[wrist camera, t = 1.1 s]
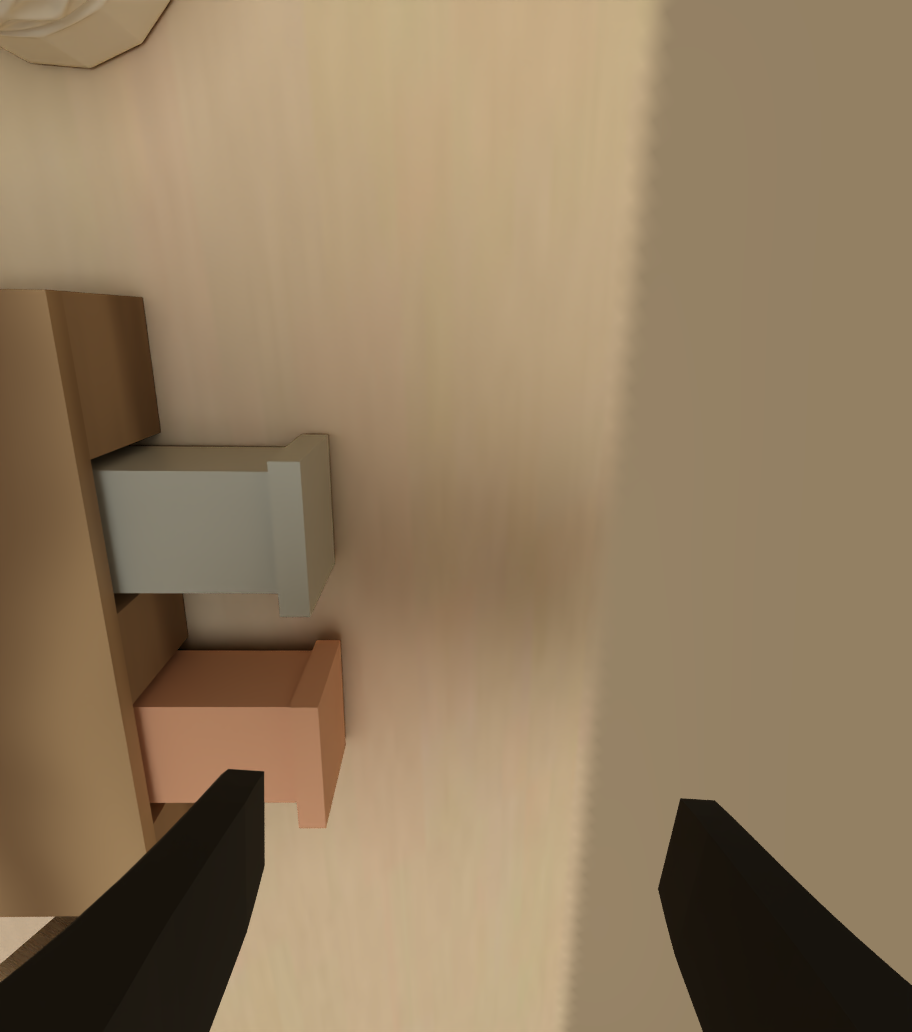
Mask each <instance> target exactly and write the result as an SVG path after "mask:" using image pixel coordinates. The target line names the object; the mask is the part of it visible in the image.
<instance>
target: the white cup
mask: <svg viewBox="0 0 912 1032" xmlns="http://www.w3.org/2000/svg"><path fill="white" fill-rule="evenodd" d="M169 2H170V0H0V47H2V48H3V49H5V50H7V51H9V52H11V53H12V54H14V55H16V56H18V57H20V58H21V59H23V60H25V61H27V62H30V63H37V64H49V65H60V66H71V67H82V68H92V67H94V66H97V65H99V64H101V63H103V62H105V61H107V60H109V59H111V58H113V57H115V56H117V55H119V54H121V53H123V52H125V51H127V50H129V49H131V48H133V47H135V46H137V45H139V44H141V43H142V42H143V41H144V40H145V38H146V37H147V35H148V34H149V32H150V30H151V29H152V27H153V26H154V24H155V23H156V21H157V20H158V18H159V17H160V15H161V14H162V12H163V11H164V9H165V8H166V6H167V5H168V3H169Z"/></svg>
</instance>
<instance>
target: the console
mask: <svg viewBox="0 0 912 1032" xmlns="http://www.w3.org/2000/svg"><path fill="white" fill-rule="evenodd" d="M158 433H160V424H159V417H158V410H157V402H156V395H155V387H154V380H153V373H152V365H151V358H150V350H149V343H148V336H147V328H146V321H145V313H144V306H143V299H142V297H130V296H118V295H105V294H92V293H79V292H67V291H54V290H22V289H0V917H48V916H80V915H81V914H82V913H83V912H84V911H85V910H86V909H87V908H89V907H90V906H91V905H92V904H93V903H94V902H95V901H96V900H97V899H98V898H99V897H101V896H102V895H103V894H104V893H105V892H106V891H107V890H108V889H109V888H110V887H111V886H113V885H114V884H115V883H116V882H117V881H118V880H119V879H120V878H121V877H122V876H123V875H124V874H125V873H126V872H128V871H129V870H130V869H131V868H132V867H133V866H134V865H135V864H136V863H137V862H138V861H139V860H140V859H141V858H142V857H143V856H144V855H145V854H146V853H147V852H148V851H149V850H150V849H151V848H152V847H153V846H154V845H155V844H156V843H157V842H158V841H159V840H160V839H161V838H162V837H163V836H164V835H165V834H166V833H167V832H168V831H169V830H170V829H171V828H172V827H173V826H174V824H175V823H176V822H177V821H178V820H179V819H180V818H181V817H182V816H183V815H184V814H185V813H186V812H187V811H188V810H189V809H190V808H191V807H192V806H193V804H194V803H150V802H149V796H148V791H147V785H146V779H145V773H144V767H143V762H142V756H141V750H140V744H139V738H138V732H137V727H136V721H135V715H134V709H133V703H134V702H135V701H136V700H137V699H138V697H139V696H140V695H141V694H142V692H143V691H144V690H145V689H146V688H147V686H148V685H149V684H150V683H151V681H152V680H153V679H154V678H155V677H156V675H157V674H158V673H159V672H160V670H161V669H162V668H163V667H164V665H165V664H166V663H167V662H168V661H169V659H170V658H171V657H172V656H173V654H174V653H175V652H176V651H177V650H178V648H179V647H180V646H181V645H182V643H183V642H184V641H185V640H186V639H187V637H188V631H187V624H186V617H185V609H184V602H183V594H182V593H113V587H112V581H111V576H110V570H109V564H108V558H107V552H106V547H105V541H104V535H103V529H102V523H101V518H100V512H99V506H98V500H97V494H96V489H95V483H94V477H93V471H92V465H91V459H94V458H96V457H99V456H101V455H104V454H106V453H109V452H112V451H114V450H117V449H119V448H122V447H124V446H127V445H129V444H132V443H135V442H137V441H140V440H142V439H145V438H147V437H150V436H153V435H155V434H158Z"/></svg>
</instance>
